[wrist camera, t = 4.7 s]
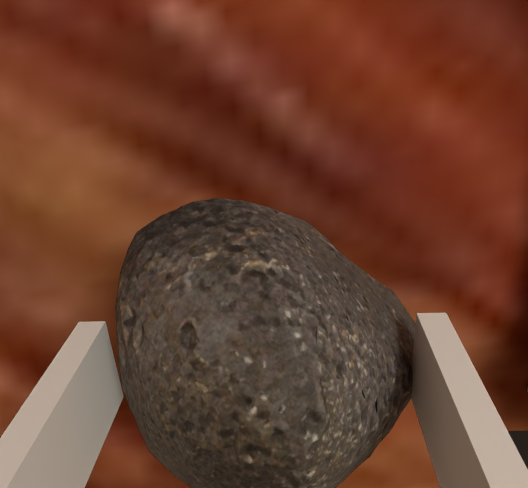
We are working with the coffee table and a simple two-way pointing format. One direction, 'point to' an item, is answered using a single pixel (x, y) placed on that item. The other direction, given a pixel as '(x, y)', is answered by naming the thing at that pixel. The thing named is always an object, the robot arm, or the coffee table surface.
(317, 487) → the stone
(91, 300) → the coffee table surface
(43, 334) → the coffee table surface
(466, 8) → the coffee table surface
